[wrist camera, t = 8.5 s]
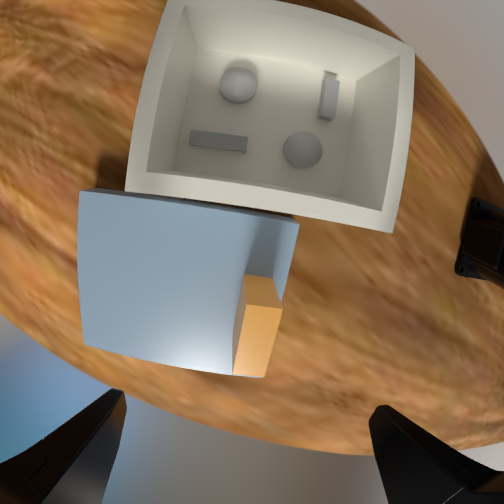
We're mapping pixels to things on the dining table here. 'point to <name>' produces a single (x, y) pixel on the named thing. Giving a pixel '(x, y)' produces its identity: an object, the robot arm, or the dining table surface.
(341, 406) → the dining table surface
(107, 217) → the lid
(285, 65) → the parts tub
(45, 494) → the robot arm
